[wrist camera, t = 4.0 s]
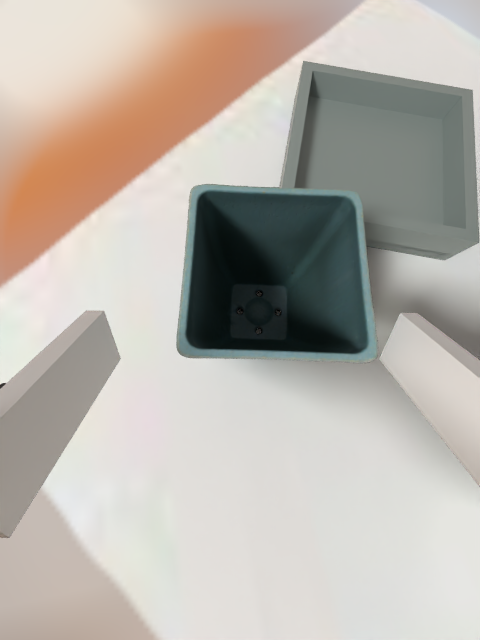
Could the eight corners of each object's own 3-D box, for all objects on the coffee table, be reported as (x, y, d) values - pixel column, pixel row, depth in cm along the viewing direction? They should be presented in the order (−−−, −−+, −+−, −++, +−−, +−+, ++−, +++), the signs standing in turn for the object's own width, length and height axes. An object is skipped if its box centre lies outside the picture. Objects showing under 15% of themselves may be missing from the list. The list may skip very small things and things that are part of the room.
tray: (443, 123, 24) (472, 90, 21) (444, 260, 21) (479, 242, 18) (294, 98, 24) (303, 61, 21) (272, 229, 21) (278, 206, 18)
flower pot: (208, 262, 20) (189, 180, 11) (307, 265, 20) (363, 187, 12) (202, 362, 18) (174, 357, 10) (311, 365, 18) (381, 363, 10)
